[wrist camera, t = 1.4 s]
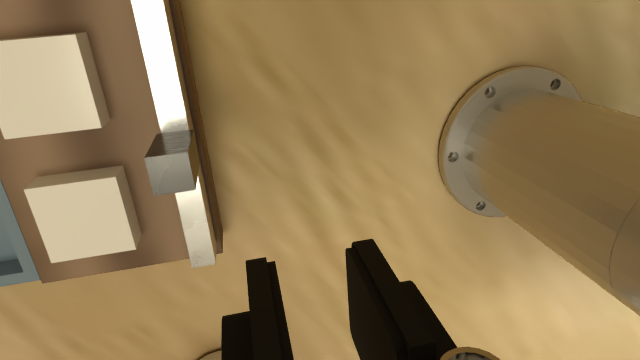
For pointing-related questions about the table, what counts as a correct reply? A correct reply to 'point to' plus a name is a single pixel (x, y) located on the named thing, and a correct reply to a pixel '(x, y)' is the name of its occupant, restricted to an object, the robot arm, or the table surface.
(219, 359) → the milk bottle
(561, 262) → the table surface
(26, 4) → the walnut board
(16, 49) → the white tile
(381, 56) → the table surface
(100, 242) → the white tile
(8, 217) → the box
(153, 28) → the bar
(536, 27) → the table surface
